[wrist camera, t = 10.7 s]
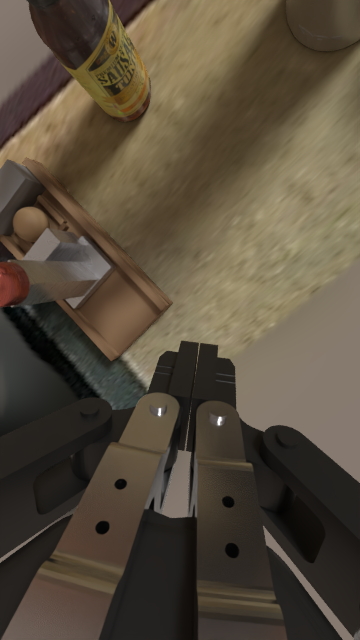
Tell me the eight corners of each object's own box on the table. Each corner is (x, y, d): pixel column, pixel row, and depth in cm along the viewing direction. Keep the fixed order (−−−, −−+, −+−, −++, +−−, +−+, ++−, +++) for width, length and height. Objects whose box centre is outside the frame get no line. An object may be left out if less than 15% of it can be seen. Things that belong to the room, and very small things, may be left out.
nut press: (172, 302, 41) (159, 308, 36) (119, 356, 44) (99, 368, 39) (41, 163, 43) (9, 148, 37) (-3, 223, 45) (-38, 217, 40)
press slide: (118, 268, 40) (24, 269, 25) (82, 309, 42) (-27, 334, 26) (82, 230, 41) (-33, 207, 25) (48, 272, 43) (-80, 275, 27)
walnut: (32, 205, 42) (9, 199, 38) (60, 215, 41) (39, 210, 38) (24, 236, 43) (1, 233, 39) (51, 247, 42) (30, 245, 39)
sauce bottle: (141, 132, 39) (26, 4, 20) (95, 113, 40) (-57, -27, 21) (164, 72, 38) (62, -129, 19) (115, 53, 39) (-30, -156, 20)
